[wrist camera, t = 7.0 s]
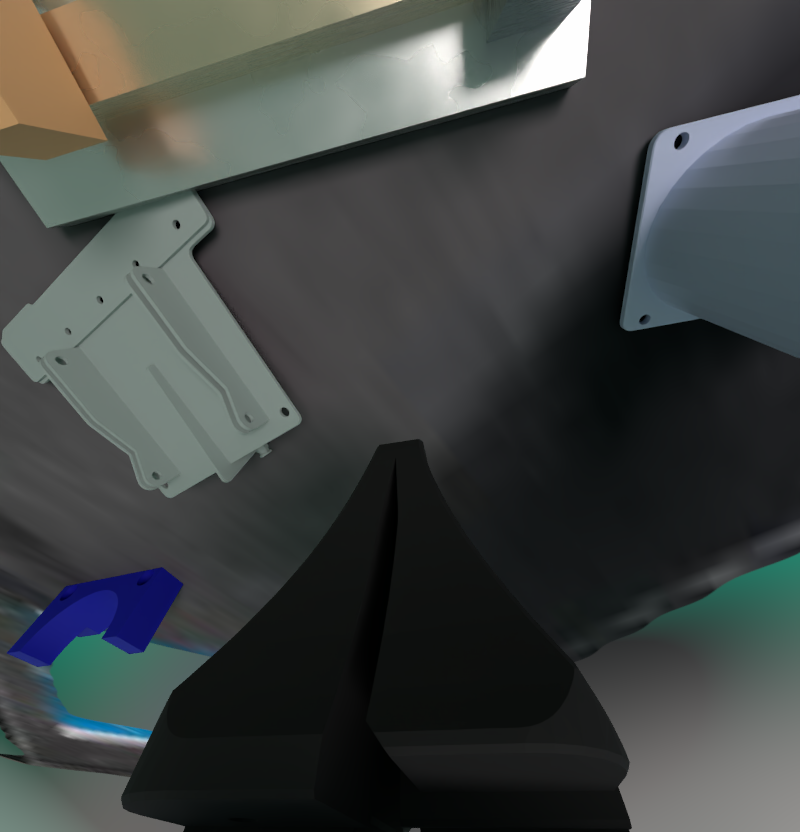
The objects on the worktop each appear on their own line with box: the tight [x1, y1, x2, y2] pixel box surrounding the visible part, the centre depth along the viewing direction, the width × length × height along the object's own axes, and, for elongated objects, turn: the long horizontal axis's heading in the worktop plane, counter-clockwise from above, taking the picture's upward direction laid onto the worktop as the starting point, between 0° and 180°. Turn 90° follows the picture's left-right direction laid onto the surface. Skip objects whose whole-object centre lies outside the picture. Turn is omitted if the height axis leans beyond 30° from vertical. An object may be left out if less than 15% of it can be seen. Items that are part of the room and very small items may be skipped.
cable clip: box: [7, 568, 183, 667], centre depth 31 cm, size 12×4×6 cm, turn 108°
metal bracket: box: [1, 190, 302, 498], centre depth 18 cm, size 14×6×15 cm
